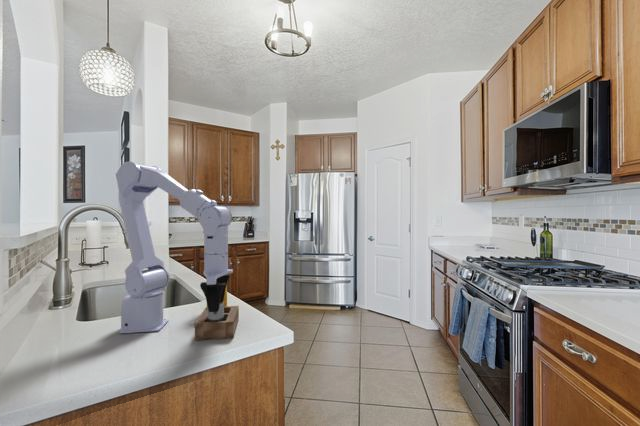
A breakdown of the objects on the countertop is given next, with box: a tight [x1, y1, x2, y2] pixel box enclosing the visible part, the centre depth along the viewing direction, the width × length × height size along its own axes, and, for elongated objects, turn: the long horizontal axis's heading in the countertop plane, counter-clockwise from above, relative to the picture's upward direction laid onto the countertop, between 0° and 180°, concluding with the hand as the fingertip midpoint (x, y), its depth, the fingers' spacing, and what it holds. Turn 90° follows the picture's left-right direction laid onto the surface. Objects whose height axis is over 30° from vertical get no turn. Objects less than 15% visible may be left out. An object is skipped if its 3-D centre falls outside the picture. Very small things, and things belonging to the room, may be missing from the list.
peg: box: [206, 302, 224, 322], centre depth 78 cm, size 4×4×7 cm
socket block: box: [194, 305, 240, 342], centre depth 81 cm, size 9×13×4 cm
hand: (216, 306), depth 78 cm, fingers open, 7 cm apart
